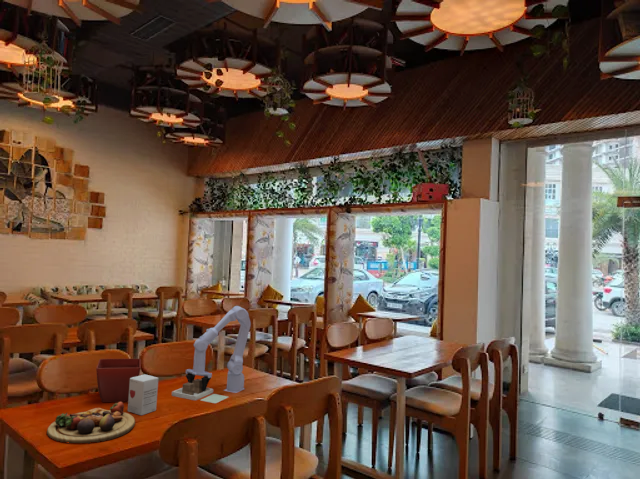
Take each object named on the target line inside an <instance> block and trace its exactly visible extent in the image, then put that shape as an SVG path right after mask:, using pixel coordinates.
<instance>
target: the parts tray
mask: <svg viewBox="0 0 640 479" xmlns="http://www.w3.org/2000/svg"><path fill="white" fill-rule="evenodd" d="M182 388H183V387H180V388H178V389H175V390H172V391H171V396H172V397H174V398H175V397H176V398H181V399H187V400H191V401H198V400H201V399H203V398H206V397H208V396H210V395H212V394H214V388H212V387H211V388H210V387H206V391H203V392H201V393H199V394H197V393H194V395H189V394H184V393H182Z"/></svg>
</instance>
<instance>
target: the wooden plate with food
mask: <svg viewBox="0 0 640 479" xmlns="http://www.w3.org/2000/svg"><path fill="white" fill-rule="evenodd" d="M124 409H125V405H124V402H123V401H121V402H115V403H114V404H112V406H110V407H109V410H108V409H104V408H101V407H95V408H92V409H89V410H87V411H81V412H77V413H70V414H68V413H69V412H66V413H64V412H62V413H61V414H58V415H57V416H56V418H55V421H53V422H52V423H51V424H50V425H49V426H48V427H47V431H46V434H47V436H48V438H50V439H51V438H52V439H51V440H53V439H54V440H53V441H55V440H56V441H55V442H58V441H60V442H59V443H62V442H69V443H88V444H91V443H90V442H97V443H101V442H100V441H102V442H107V441H110V440H113V439H116V438H118V437H122V436H124V435H126V434H127V433H130V431H131V430H132V429H133V428H134V427H135V425H136V419H135V417H134V416H133V415H132V414H130V413H129V412H124ZM106 440H107V441H106ZM69 443H68V444H69Z"/></svg>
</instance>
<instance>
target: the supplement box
mask: <svg viewBox="0 0 640 479" xmlns="http://www.w3.org/2000/svg"><path fill="white" fill-rule="evenodd" d="M158 389H159V377H156V376H153V375H150V374H149V375H148V374H141V375H140V374H139V376H136V377H132V378H130V384H129V398H128V401H127V403H128V404H127V413H133V414H136V415H139V416H144V415H146V414H149V413H152V412H156V410H157V403H158Z"/></svg>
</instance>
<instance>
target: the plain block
mask: <svg viewBox="0 0 640 479" xmlns="http://www.w3.org/2000/svg"><path fill="white" fill-rule="evenodd" d="M181 388H182V393H184V394H189V395H194V383H188V382H185V383H183V384H182V387H181Z"/></svg>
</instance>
